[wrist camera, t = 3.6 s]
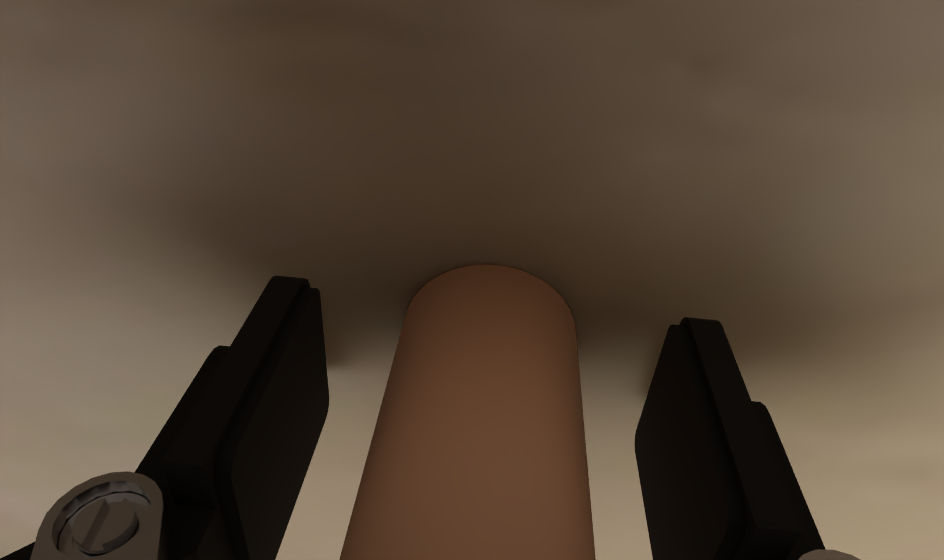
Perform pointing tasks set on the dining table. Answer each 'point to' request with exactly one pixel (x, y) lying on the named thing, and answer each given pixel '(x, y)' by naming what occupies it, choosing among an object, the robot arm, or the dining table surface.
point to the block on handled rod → (478, 429)
